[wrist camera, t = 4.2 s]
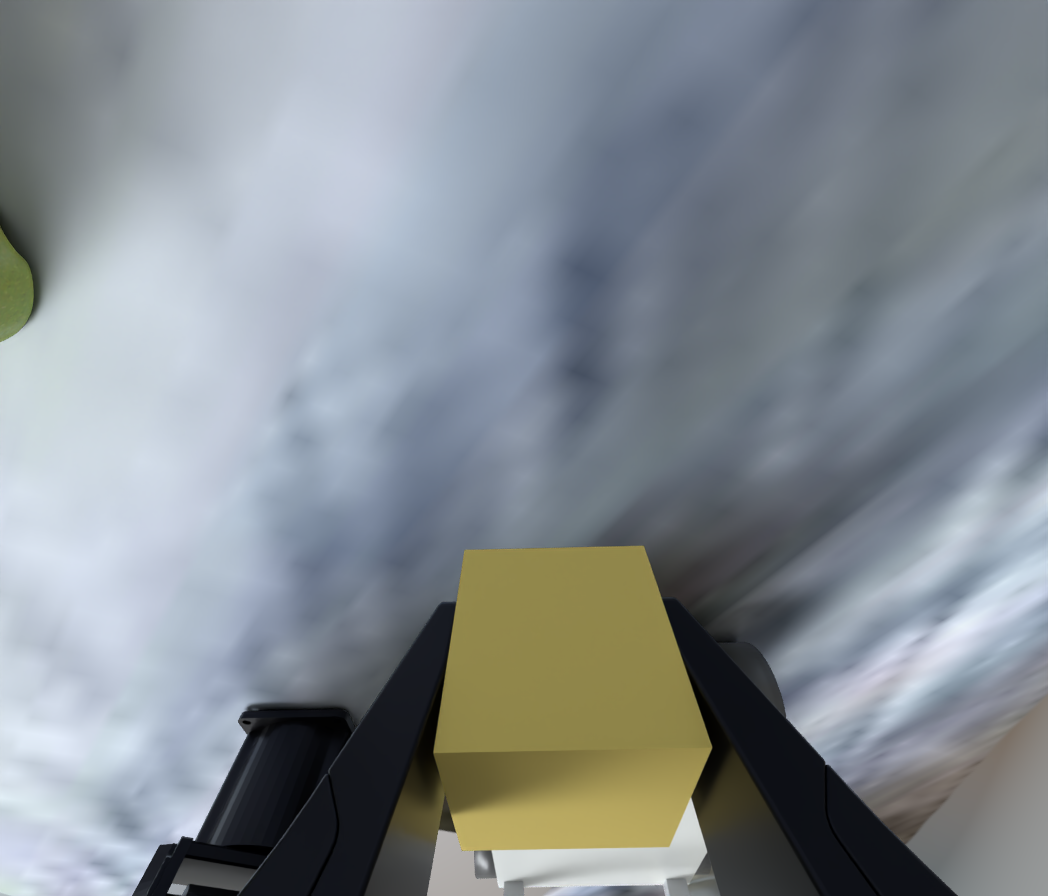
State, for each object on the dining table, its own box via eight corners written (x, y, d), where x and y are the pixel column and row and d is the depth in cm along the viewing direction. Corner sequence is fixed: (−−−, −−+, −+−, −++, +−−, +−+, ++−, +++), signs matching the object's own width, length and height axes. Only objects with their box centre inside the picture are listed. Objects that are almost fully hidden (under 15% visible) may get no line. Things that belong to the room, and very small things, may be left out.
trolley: (678, 794, 33) (769, 1145, 21) (484, 798, 33) (463, 1149, 21) (746, 621, 22) (1022, 1156, 10) (453, 627, 22) (372, 1163, 10)
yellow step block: (484, 695, 13) (471, 883, 9) (464, 549, 10) (432, 753, 6) (618, 693, 13) (655, 879, 9) (643, 545, 9) (712, 747, 6)
